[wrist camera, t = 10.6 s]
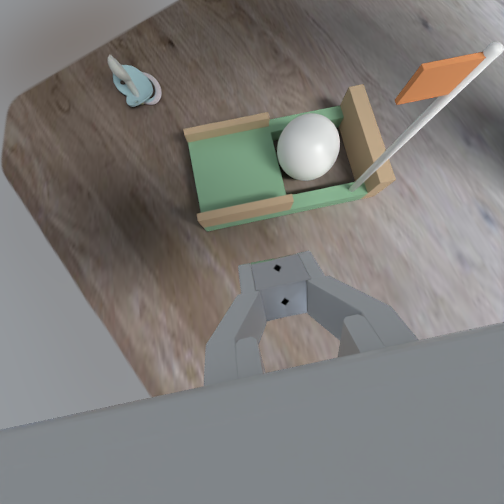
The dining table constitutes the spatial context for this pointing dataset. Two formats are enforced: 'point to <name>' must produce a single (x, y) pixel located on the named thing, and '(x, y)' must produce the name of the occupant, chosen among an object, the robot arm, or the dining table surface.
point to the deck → (353, 135)
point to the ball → (308, 147)
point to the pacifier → (134, 83)
